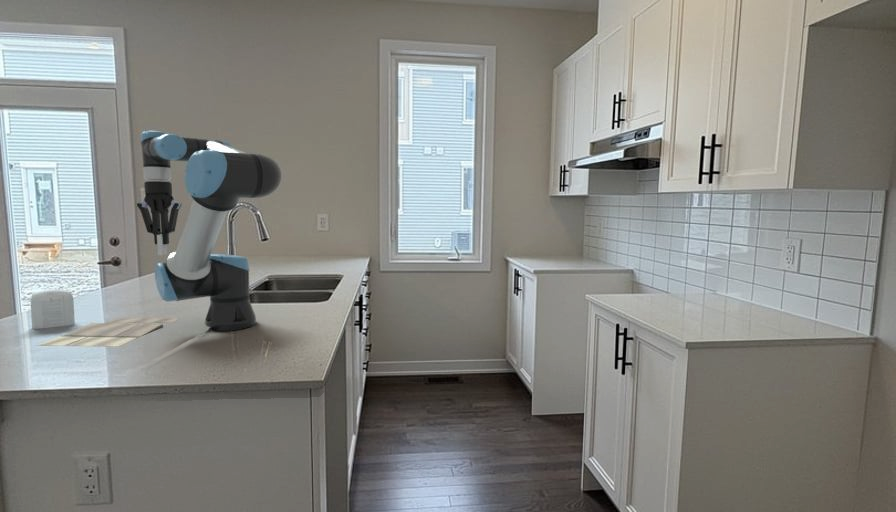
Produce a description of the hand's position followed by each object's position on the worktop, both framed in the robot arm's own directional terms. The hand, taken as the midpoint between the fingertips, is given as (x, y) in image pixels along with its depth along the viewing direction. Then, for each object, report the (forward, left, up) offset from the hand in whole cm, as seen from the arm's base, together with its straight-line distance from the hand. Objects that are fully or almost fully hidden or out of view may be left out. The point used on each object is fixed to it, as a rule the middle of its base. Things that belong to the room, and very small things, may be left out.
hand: (162, 254), depth 155 cm
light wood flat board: (+7, +25, -23) cm, 34 cm away
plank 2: (+6, +2, -23) cm, 23 cm away
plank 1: (+7, +15, -22) cm, 27 cm away
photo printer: (+29, +10, -23) cm, 38 cm away
